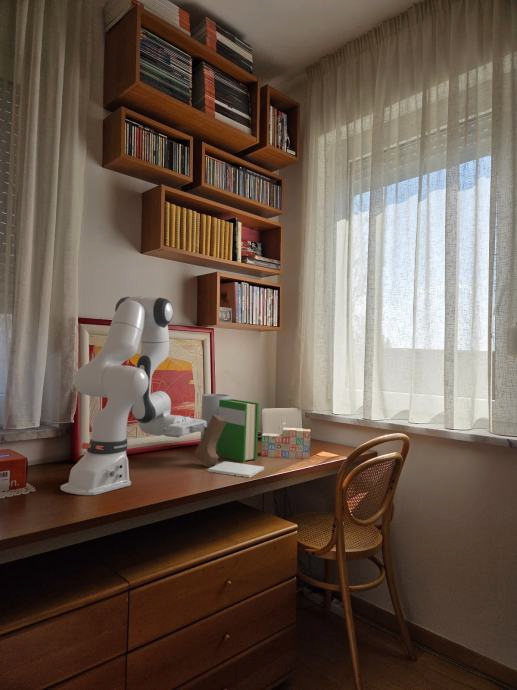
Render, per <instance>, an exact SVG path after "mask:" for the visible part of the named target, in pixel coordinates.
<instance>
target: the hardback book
mask: <svg viewBox="0 0 517 690" xmlns="http://www.w3.org/2000/svg"><path fill="white" fill-rule="evenodd" d="M259 406H260V403H259V402H253V401H246V400H240V399H236V398H229V399H225V400H219V415H220V416H222V417H223V418H224V419H225V420H226V421H227V422H226V424H225V426H224V428H223V430H222V432H221V435H220V437H219V439H218V451H217V452H216V454H217V455H218V456H220V457H223V458H226V459H230V460H234V461H237V462H240V463H242V464H245V463H246V461H248V460H249V461H251V460H252V461H253V462H254V461H255V462H256V461H257V460H258V436H259V435H258V433H259V413H260V412H259V409H260V407H259ZM244 462H245V463H244ZM257 462H258V461H257Z"/></svg>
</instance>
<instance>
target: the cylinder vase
mask: <svg viewBox="0 0 517 690" xmlns="http://www.w3.org/2000/svg"><path fill="white" fill-rule="evenodd" d="M225 399H230V395H229V394H224V393H223V394H222V393H205V394H202V395H201V416H200V417H201V420H205V421H206V422H207V426H208V424H209V422H210V420H211V418H212V415H219V400H225ZM204 432H205V431H204ZM204 432H200V440H201V439H202V437H203V435H204ZM215 450H216V453H217V451H218V441H217V443H216V447H215Z"/></svg>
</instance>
